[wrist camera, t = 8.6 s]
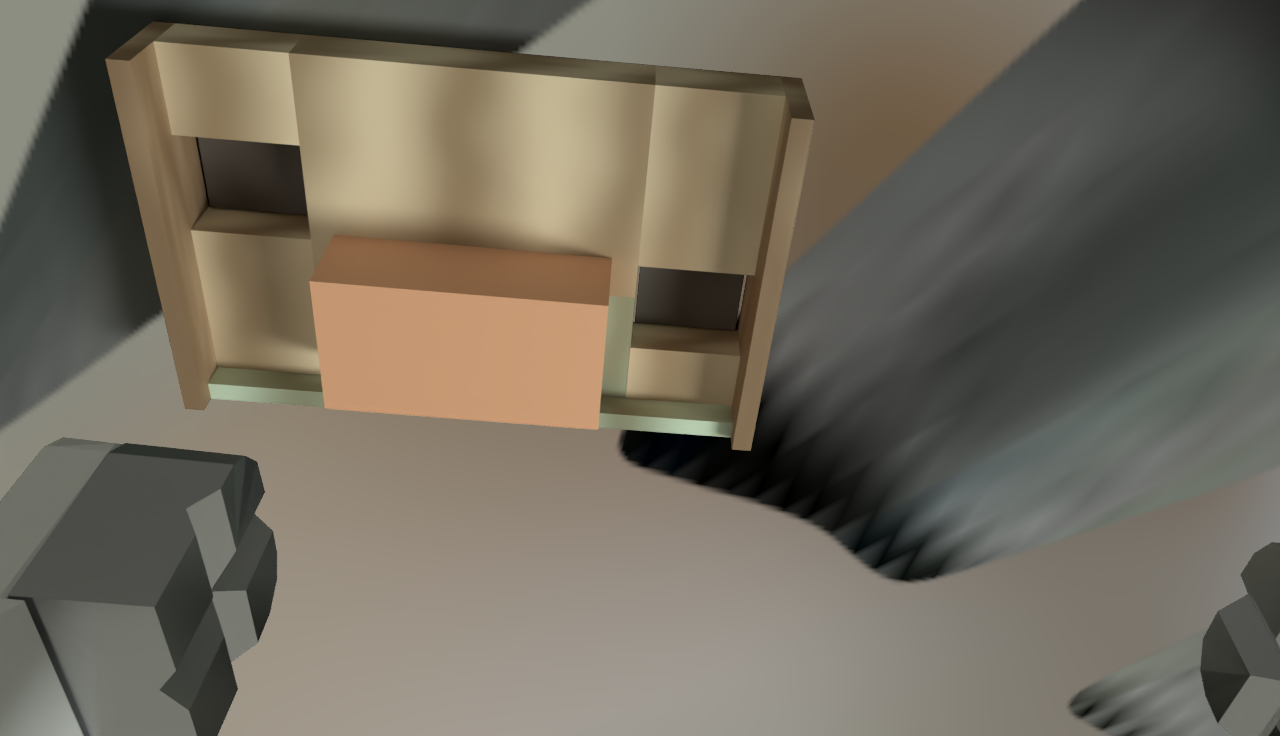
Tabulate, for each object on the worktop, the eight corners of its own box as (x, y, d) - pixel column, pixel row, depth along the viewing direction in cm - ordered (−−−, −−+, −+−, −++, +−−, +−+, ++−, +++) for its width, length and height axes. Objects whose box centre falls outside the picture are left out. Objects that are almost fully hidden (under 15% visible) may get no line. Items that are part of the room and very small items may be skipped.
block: (612, 258, 41) (608, 306, 38) (602, 378, 44) (598, 429, 41) (333, 234, 40) (309, 281, 37) (346, 357, 44) (324, 408, 41)
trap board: (801, 78, 38) (814, 120, 35) (744, 393, 47) (750, 450, 44) (153, 21, 37) (105, 58, 34) (218, 353, 46) (185, 408, 43)
